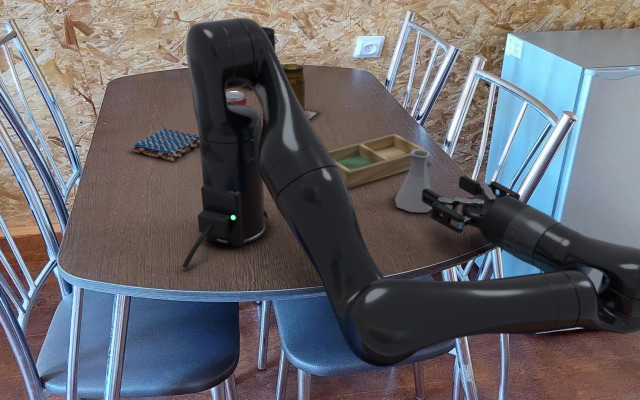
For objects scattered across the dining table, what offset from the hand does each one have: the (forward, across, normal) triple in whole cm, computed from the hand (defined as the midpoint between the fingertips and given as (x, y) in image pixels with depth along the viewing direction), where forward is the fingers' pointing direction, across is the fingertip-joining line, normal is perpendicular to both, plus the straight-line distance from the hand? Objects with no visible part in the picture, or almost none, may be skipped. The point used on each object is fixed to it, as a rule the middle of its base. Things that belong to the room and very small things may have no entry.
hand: (442, 187), depth 94 cm
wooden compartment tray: (+22, +3, -6) cm, 23 cm away
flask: (+6, 0, -6) cm, 9 cm away
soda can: (+44, -16, -6) cm, 47 cm away
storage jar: (+80, +9, -6) cm, 81 cm away
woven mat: (+52, -28, -6) cm, 60 cm away
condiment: (+55, +5, -6) cm, 55 cm away
